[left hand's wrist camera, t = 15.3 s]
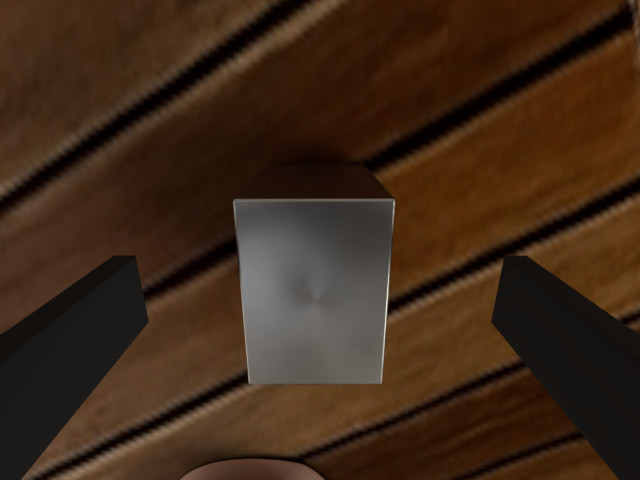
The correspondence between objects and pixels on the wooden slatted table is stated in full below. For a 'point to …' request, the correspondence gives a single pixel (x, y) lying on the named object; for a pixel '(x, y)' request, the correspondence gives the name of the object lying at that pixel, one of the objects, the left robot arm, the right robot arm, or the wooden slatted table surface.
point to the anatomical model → (253, 471)
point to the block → (314, 273)
